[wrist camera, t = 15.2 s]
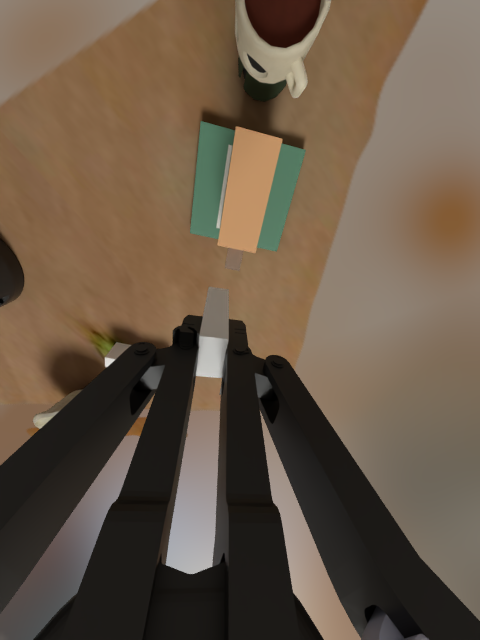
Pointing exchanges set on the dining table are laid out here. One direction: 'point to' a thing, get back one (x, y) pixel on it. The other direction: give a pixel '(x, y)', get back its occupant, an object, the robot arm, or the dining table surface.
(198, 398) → the dining table surface
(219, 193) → the board
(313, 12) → the character mug
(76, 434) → the robot arm
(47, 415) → the bowl
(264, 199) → the block
